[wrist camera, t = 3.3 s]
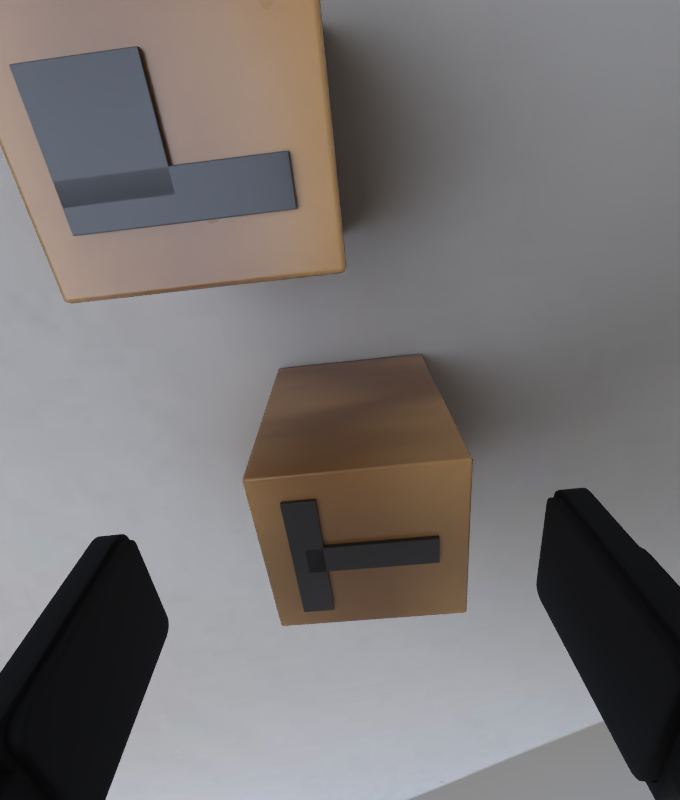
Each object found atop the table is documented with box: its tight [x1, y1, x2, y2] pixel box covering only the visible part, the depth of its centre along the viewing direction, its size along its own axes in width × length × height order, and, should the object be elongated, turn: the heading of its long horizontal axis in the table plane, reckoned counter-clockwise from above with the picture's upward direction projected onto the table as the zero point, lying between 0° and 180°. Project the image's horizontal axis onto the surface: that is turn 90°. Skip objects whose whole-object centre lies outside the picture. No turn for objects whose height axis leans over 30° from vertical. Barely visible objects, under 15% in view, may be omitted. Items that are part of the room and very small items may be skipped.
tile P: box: [0, 0, 346, 303], centre depth 8 cm, size 4×4×6 cm
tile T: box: [243, 354, 473, 626], centre depth 11 cm, size 4×4×6 cm
